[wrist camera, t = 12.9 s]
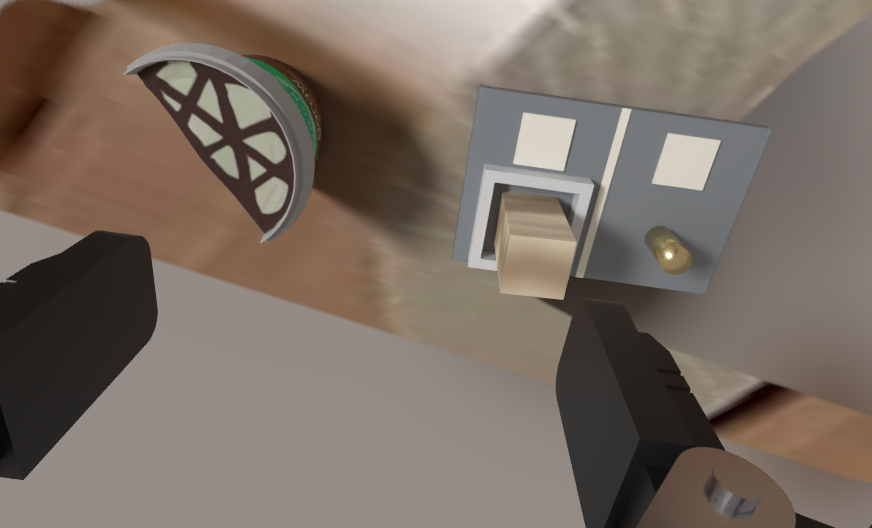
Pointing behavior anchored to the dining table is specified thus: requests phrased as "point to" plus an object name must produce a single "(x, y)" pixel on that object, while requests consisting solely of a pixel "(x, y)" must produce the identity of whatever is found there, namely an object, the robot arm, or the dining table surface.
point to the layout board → (609, 181)
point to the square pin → (533, 246)
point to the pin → (668, 250)
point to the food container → (243, 124)
